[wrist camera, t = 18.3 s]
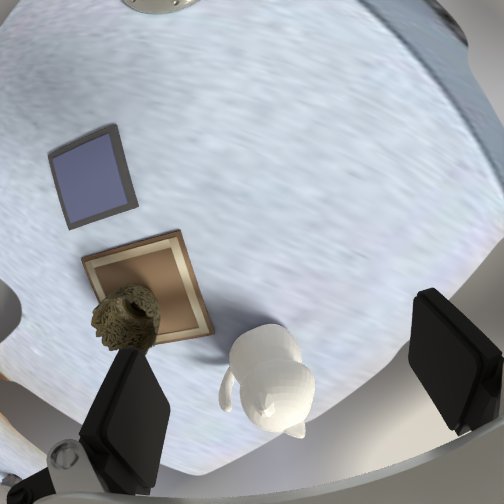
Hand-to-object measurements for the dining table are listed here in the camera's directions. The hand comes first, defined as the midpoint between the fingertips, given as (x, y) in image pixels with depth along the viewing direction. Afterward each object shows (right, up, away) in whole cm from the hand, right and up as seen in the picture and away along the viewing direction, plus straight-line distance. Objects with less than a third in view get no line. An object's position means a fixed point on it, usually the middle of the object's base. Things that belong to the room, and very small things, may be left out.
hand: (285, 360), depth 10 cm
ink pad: (-20, +12, +23) cm, 33 cm away
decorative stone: (-88, -81, +53) cm, 131 cm away
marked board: (-14, -2, +28) cm, 31 cm away
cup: (-15, -2, +28) cm, 31 cm away
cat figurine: (0, -9, +31) cm, 32 cm away
